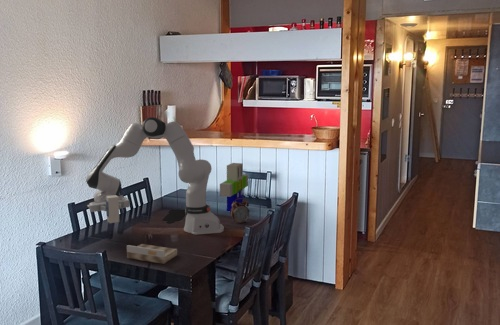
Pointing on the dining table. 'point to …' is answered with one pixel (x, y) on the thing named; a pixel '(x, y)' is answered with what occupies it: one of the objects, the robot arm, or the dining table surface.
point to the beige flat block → (151, 253)
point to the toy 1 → (174, 216)
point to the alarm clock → (239, 211)
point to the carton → (112, 208)
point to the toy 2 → (234, 184)
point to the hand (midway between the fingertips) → (112, 208)
